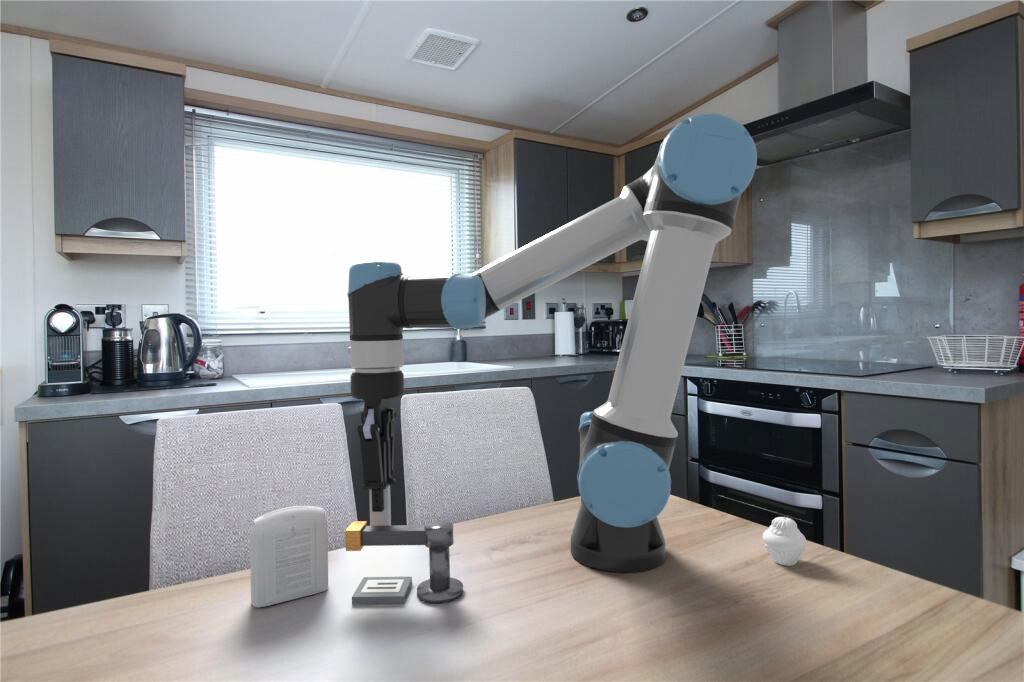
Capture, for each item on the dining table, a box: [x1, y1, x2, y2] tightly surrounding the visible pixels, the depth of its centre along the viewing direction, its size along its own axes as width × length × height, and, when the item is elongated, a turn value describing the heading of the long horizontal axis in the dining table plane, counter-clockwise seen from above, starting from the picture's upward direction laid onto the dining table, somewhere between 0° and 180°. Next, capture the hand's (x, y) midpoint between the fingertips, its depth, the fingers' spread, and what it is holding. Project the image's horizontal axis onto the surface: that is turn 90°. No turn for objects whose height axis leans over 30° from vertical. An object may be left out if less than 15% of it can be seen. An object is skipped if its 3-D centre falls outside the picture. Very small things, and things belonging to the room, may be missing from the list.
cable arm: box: [344, 520, 455, 552], centre depth 80 cm, size 14×4×3 cm, turn 89°
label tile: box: [351, 576, 413, 605], centre depth 80 cm, size 7×6×1 cm
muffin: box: [762, 516, 807, 567], centre depth 88 cm, size 6×6×7 cm
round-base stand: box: [416, 547, 464, 605], centre depth 80 cm, size 6×6×7 cm
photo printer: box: [249, 505, 329, 608], centre depth 80 cm, size 10×4×12 cm, turn 123°
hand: (380, 530), depth 84 cm, fingers closed
